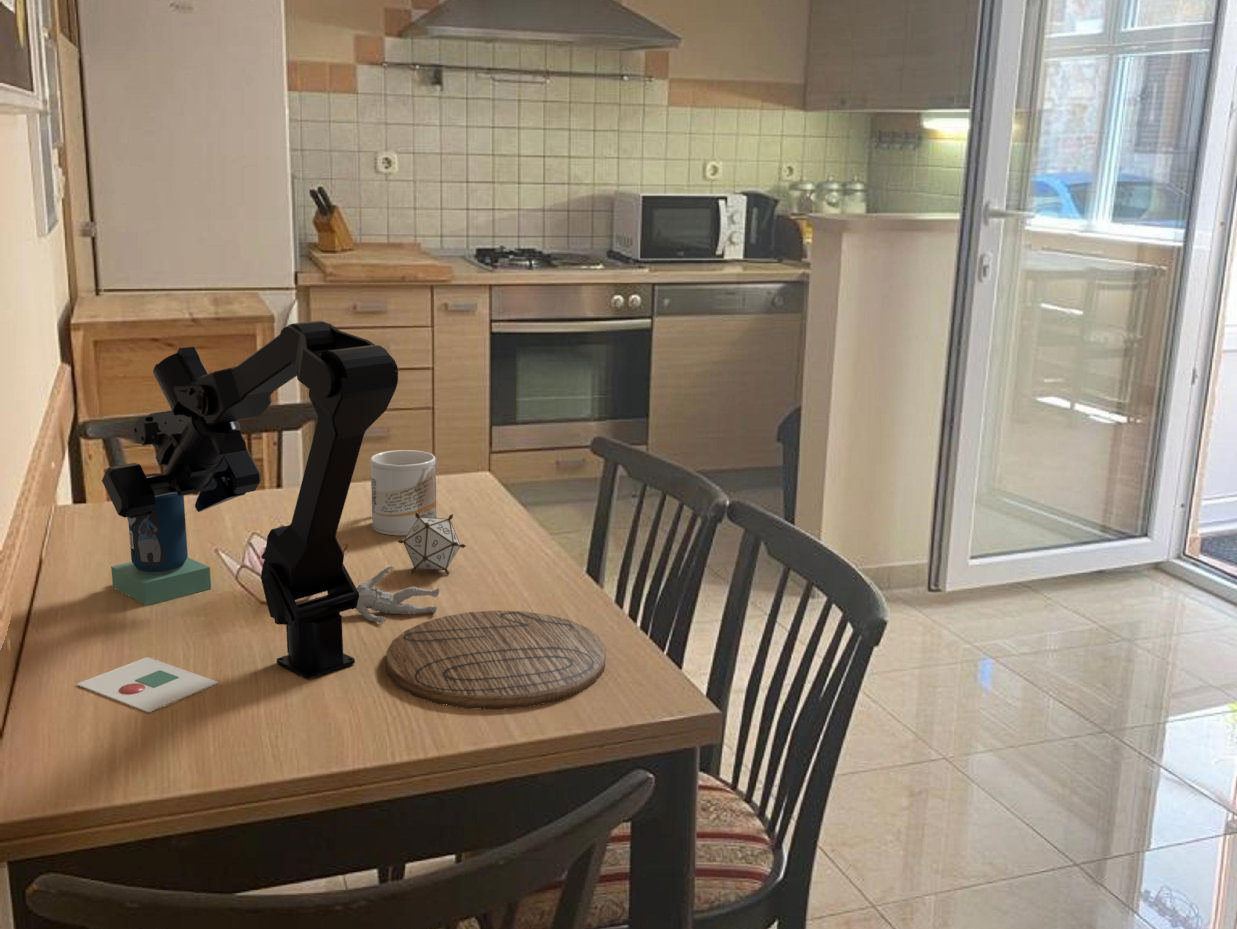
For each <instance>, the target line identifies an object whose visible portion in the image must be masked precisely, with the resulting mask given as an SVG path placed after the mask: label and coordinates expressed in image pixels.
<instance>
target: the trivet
mask: <svg viewBox="0 0 1237 929" xmlns="http://www.w3.org/2000/svg"><path fill="white" fill-rule="evenodd" d="M606 650H607V647H606V646H605V644H604V642H603V641H602V639H601V637H600V636H599V635H598V634H596V633H595V632H594V631H592V630H591V629H590V628H589V627H587V626H584V625H582V624H579V623H577V622H574V621H572V620H570V619H568V618H567V619H566V618H563V617H558V616H555V615H551V614H545V613H538V612H531V611H530V612H529V611H521V610H484V611H469V612H463V613H456V614H451V615H445V616H442V617H439V618H435V619H430V620H427V621H424V622H422V623H419V624H417V625H415V626H412V627H411V628H408V629H406V630H405V631H403V632H402V633H401V634H399V635H398V636H396V637H395V638H394V639H393V640H392V641H391V643H390V644H389V647H388V648H387V650H386V667H387V676H388V677H389V678H390V680H391V681H392V682H393V683H394V685H396V687H397V688H398V689H401V690H402V691H404V692H407V693H408V694H409V695H411V696H414V697H415V698H418V699H422V700H424V699H425V701H428V702H431V701H432V702H431V703H434V702H436V703H435V704H436V705H437V704H438V705H442V704H445V705H444V706H448V705H452V706H451V707H456V706H457V708H461V707H464V708H463V709H470V708H481V709H480V710H505V709H504V708H509V709H517V708H516V707H522V708H530V707H529V706H531V707H534V706H533V705H536V706H539V705H538V704H540V705H543V704H542V703H545V704H548V703H547V702H550V703H554V702H553V701H555V702H558V701H561V700H563V698H564V699H566V698H569V697H571V695H572V696H574V694H575V695H577V693H578V694H580V693H581V692H583V691H584V689H585V688H586V689H588V688H589V687H590V685H591V686H592V685H594V684H595V683H596V682H598V680H599V679H600V678H601V676H602V675H603V674H604V673H605V666H606V653H607V652H606ZM602 673H603V674H602ZM597 679H598V680H597ZM587 687H588V688H587ZM586 689H585V690H586ZM582 690H583V691H582ZM579 692H580V693H579ZM560 699H561V700H560ZM446 704H447V705H446ZM484 708H485V709H484Z"/></svg>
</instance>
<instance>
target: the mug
mask: <svg viewBox="0 0 1237 929" xmlns="http://www.w3.org/2000/svg"><path fill="white" fill-rule="evenodd" d="M436 460H437V459H436V456H435V455H434V454H433V453H430V452H427V451H422V450H414V449H413V450H411V449H409V450H408V449H401V450H400V449H399V450H397V449H396V450H388V451H383V452H379V453H375V454H373V455H372V456H371V457H370V484H371V486H370V490H371V492H370V493H371V519H372V520H371V522H372V529H373V530H374V531H375V532H376V533H379V534H384V535H389V536H399V537H400V536H401V537H404V536H405V537H406V536H407V534H408V533H409V531H410V530H411V528H412V527H413V525H414V523H415V522H416V520H417V519H418V518H417V517H416V516H415V515H416V513H418V514H419V515H420V516H419V517H423V518H437V473H436V472H437V471H436V469H437V468H436V467H437V464H436V462H437V461H436Z"/></svg>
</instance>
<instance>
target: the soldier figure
mask: <svg viewBox="0 0 1237 929" xmlns="http://www.w3.org/2000/svg"><path fill="white" fill-rule="evenodd" d="M393 568H394V566H387V567H386V568H384V569H383V570H381V571H380V572H379V573H377V574H376V575H374V576H373V577H372V578H371V579H369V580H368V581H365V582H363V583H360V584H358V586H357V587H356V589H357V590H358V592H359V599H358V603H357V608H355V610H356V611H358V612H359V613H360V614H361V615H362V616H363V618H365V620H368V621H370V622H374V623H379V624H385V623H386V621H387V619H386V617H385V616H376V615H374V614H373V613H371V612H370V611H369V610H368V609H371V610H372V611H375V612H377V611H378V612H381V613H384V614H386V615H388V614H391V615H403V614H410V615H412V614H413V615H416V614H421V613H431V614H436V613H437V610H438V605H434V606H428V607H427V606H419V605H415V604H413V603H411V602H408V603H407V602H406V603H403V602H404V601H405V600H408V599H410V598H412V597H420V596H421V597H422V596H423V597H424V596H431V597H432V598H437V597H438V596H439V594H440V590H441V588H440V587H437V588H436V589H432V590H431V589H423V588H420V587H417V586H410V587H406V588H403V589H401V590H398V591H396V592H395V593H393V594H392V593H391V592H388V591H383V588H378V587H377V588H373V587H375V586H376V585H377V584H379V583H380V582H381V581H382V579H383V578H384V577H385V576H386V574H391V572H389V570H392V569H393Z"/></svg>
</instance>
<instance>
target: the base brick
mask: <svg viewBox="0 0 1237 929" xmlns="http://www.w3.org/2000/svg"><path fill="white" fill-rule="evenodd" d="M111 580H112V589H114V588H116V589H118V590H119V591H121V592H123V593H124V594H123V593H122V594H123V595H125V594H127V595H129V596H130V597H129V596H128V597H129V598H131V597H132V598H131V599H133V598H134V599H133V600H135V601H137V600H138V601H137V602H139V601H140V602H139V603H140V604H143V605H145V606H146V605H147V606H151V605H154V604H158V603H161V602H166V601H169V600H173V599H177V598H180V597H184V596H189V595H193V594H196V593H197V594H198V593H200V592H204V591H207V590H208V591H209V590H210V589H212V582H211V580H212V579H211V567H210V566H208V565H206V564H204V563H201V562H199V561H197V560H195V559H192V558H190V557H187V559H186V561H185V563H184V565H183V567H182V568H181V569H179V570H177V571H174V572H170V573H165V574H145V573H141V572H139V571H138V569H137V568H136V567H135V566H134V564H133V563H132V561H130V562H125V563H121V564H117V565H112V566H111ZM116 589H115V590H116ZM119 591H118V592H119ZM121 592H120V593H121ZM127 595H126V596H127Z"/></svg>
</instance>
